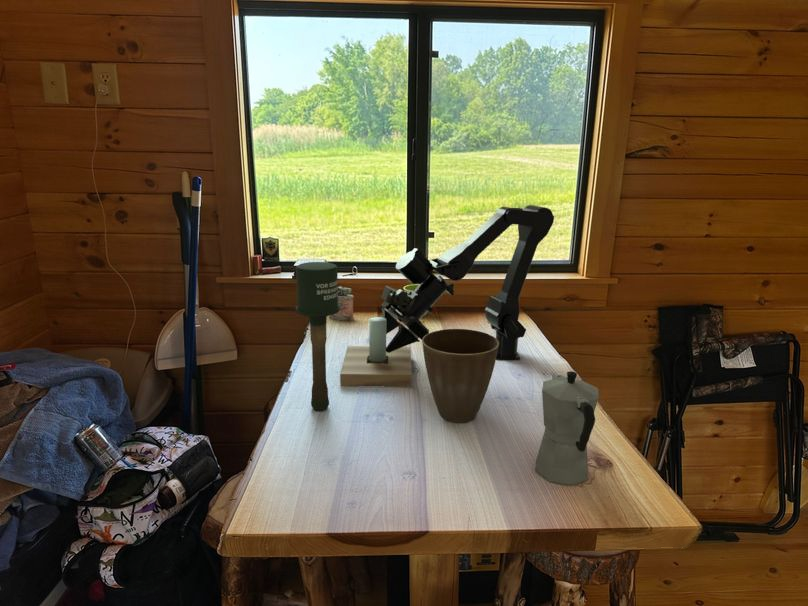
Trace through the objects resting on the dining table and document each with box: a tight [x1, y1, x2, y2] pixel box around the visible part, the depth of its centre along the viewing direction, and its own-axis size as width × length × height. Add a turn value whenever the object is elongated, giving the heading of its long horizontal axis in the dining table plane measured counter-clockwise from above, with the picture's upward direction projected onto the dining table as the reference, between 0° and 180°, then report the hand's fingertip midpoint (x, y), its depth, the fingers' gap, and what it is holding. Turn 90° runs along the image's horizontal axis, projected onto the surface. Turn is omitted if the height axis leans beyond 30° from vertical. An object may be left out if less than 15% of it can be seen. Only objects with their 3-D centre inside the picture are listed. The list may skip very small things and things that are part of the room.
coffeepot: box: [534, 370, 600, 486], centre depth 92 cm, size 15×9×18 cm, turn 6°
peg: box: [368, 316, 387, 364], centre depth 134 cm, size 4×4×13 cm
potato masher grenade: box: [295, 261, 340, 412], centre depth 112 cm, size 8×9×30 cm
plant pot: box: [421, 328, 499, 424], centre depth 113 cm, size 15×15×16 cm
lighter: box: [328, 286, 355, 322], centre depth 175 cm, size 8×3×10 cm, turn 73°
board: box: [339, 345, 413, 388], centre depth 135 cm, size 18×16×3 cm
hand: (380, 344), depth 134 cm, fingers open, 9 cm apart
